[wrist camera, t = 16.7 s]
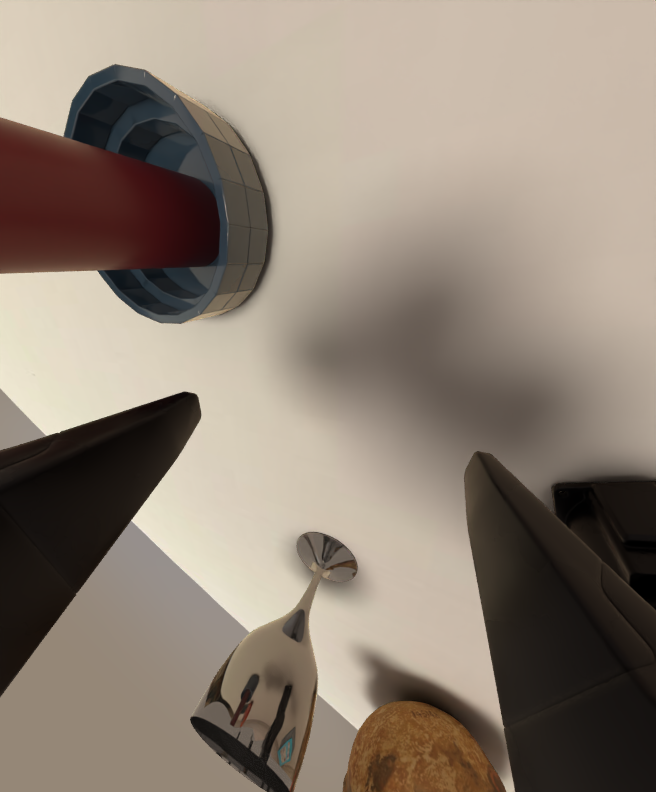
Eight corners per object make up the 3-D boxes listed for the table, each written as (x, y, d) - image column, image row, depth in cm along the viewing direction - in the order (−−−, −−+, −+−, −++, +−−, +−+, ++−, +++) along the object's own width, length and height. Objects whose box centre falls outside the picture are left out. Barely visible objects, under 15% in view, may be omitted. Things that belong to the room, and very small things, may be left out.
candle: (229, 267, 21) (-29, 278, 10) (171, 266, 23) (-99, 273, 12) (217, 172, 18) (-145, 42, 7) (154, 179, 20) (-211, 84, 9)
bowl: (300, 280, 20) (263, 285, 16) (183, 331, 26) (137, 344, 22) (218, 51, 16) (146, -12, 13) (105, 172, 22) (34, 155, 19)
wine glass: (343, 594, 33) (273, 802, 20) (285, 554, 34) (185, 727, 21) (373, 561, 29) (309, 798, 16) (306, 517, 30) (196, 705, 17)
